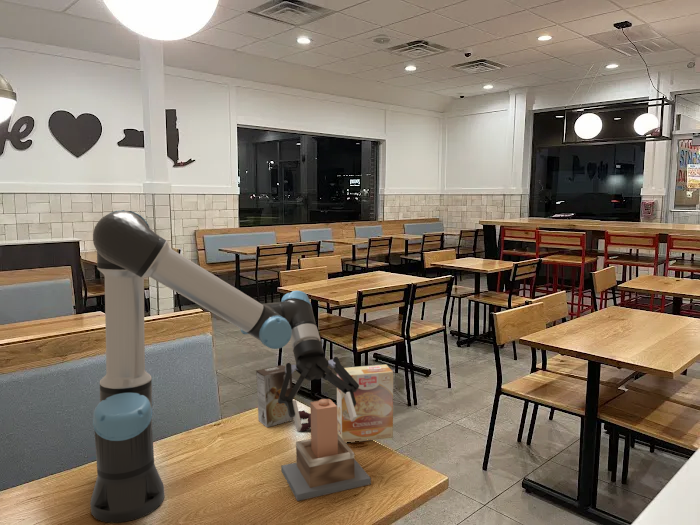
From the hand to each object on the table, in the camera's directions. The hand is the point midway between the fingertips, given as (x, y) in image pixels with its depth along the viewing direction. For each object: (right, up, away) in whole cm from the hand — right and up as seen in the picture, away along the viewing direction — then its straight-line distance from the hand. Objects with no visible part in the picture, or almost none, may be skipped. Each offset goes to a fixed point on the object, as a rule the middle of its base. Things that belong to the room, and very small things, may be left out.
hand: (327, 424), depth 123 cm
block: (-1, -8, +3) cm, 8 cm away
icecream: (-3, -11, +30) cm, 32 cm away
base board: (-1, -14, +4) cm, 15 cm away
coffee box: (-17, -11, +37) cm, 42 cm away
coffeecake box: (+10, -12, +26) cm, 30 cm away
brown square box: (-1, -13, +4) cm, 13 cm away
